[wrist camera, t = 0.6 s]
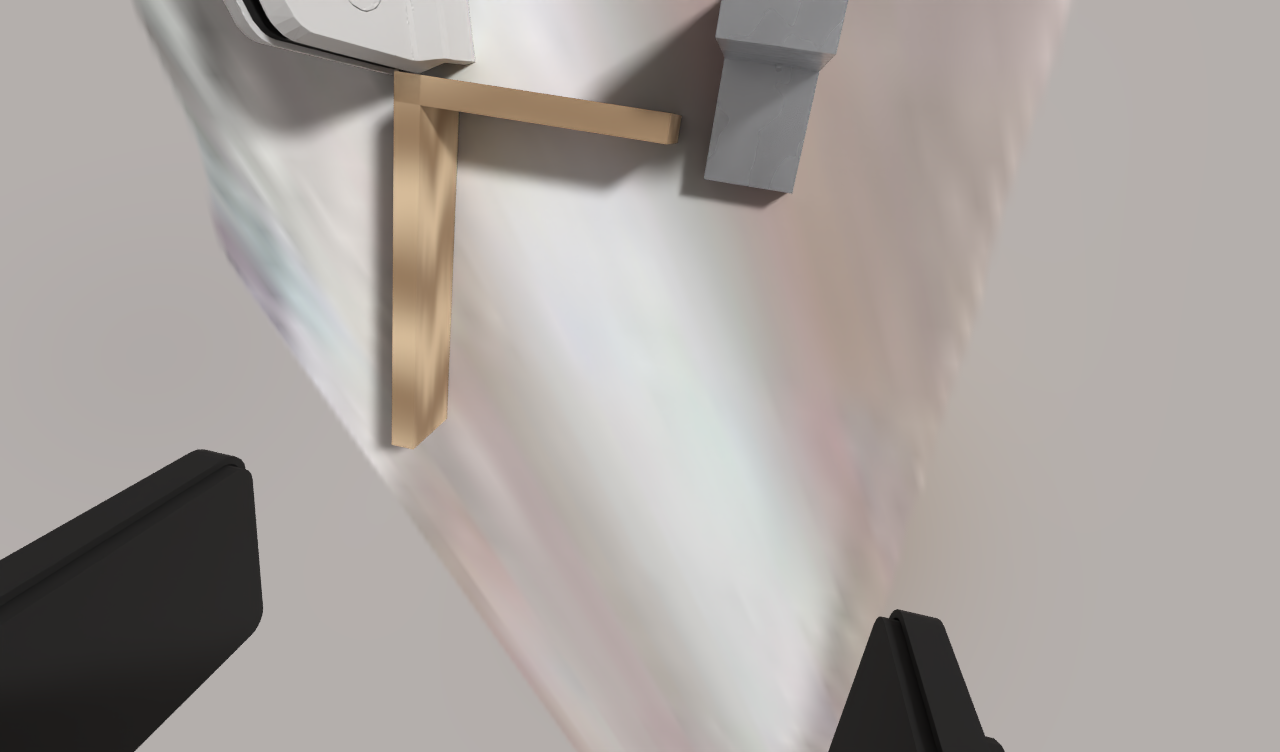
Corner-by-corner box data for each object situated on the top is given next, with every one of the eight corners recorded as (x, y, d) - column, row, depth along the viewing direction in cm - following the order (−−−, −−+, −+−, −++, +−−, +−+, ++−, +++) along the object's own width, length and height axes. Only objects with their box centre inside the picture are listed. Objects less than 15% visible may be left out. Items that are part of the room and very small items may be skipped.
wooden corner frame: (436, 78, 32) (393, 70, 28) (681, 115, 30) (671, 113, 27) (427, 414, 38) (391, 444, 35) (628, 457, 37) (614, 492, 33)
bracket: (739, -15, 28) (732, -68, 21) (833, -3, 28) (860, -52, 20) (706, 177, 31) (689, 190, 24) (790, 190, 31) (800, 208, 23)
